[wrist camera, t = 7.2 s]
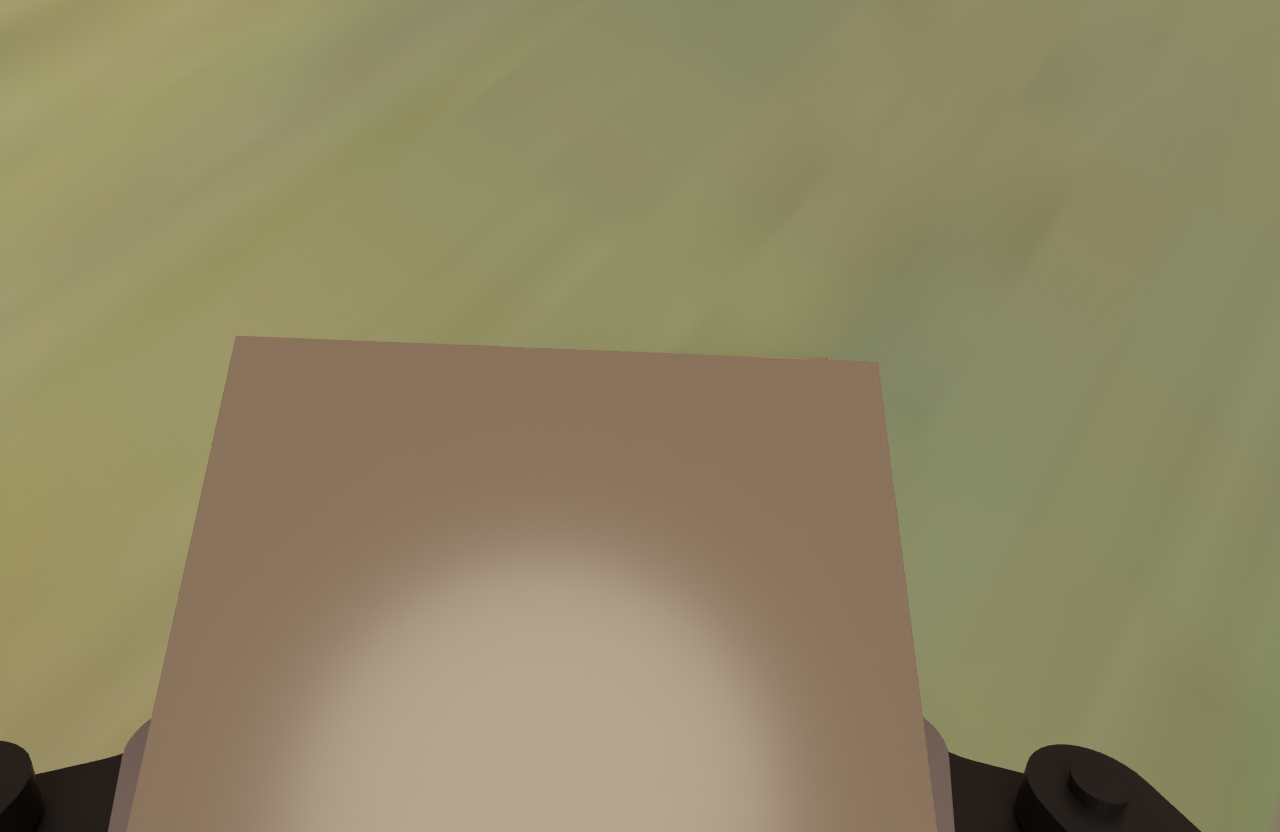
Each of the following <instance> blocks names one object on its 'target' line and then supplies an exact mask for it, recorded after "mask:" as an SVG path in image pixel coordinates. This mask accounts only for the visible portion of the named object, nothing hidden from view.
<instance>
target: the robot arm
mask: <svg viewBox="0 0 1280 832" xmlns="http://www.w3.org/2000/svg"><path fill="white" fill-rule="evenodd" d="M150 723H151V719H150V720H149V721H147V722H146V723H145V724H144V725H143V726H141V727H140V728H139V729H138V730H137V731H136V733H135V734H134V735H133V736H132V737H131V739H130V740H129V742H128V744H127V745H126V747H125V750H124V753H123V754H120V755H117V756H113V757H110V758H106V759H102V760H98V761H94V762H89V763H85V764H80V765H76V766H71V767H67V768H63V769H58V770H54V771H49V772H45V773H40V774H36V775H35V772H34V769H33V766H32V762H31V759H30V757H29V754H28V753H27V752H26V751H25V750H24V749H23V748H21V747H20V746H18V745H16V744H13V743H10V742H5V741H0V832H126V831H127V827H128V822H129V818H130V813H131V809H132V804H133V800H134V795H135V791H136V786H137V782H138V777H139V773H140V768H141V764H142V759H143V755H144V750H145V745H146V741H147V736H148V732H149V727H150ZM923 723H924V731H925V739H926V747H927V755H928V762H929V770H930V778H931V786H932V794H933V802H934V810H935V818H936V826H937V832H1201V831H1200V830H1199V829H1198V828H1197V827H1196V826H1194V825H1193V824H1192V823H1191V822H1190V821H1189V820H1188V819H1187V818H1186V817H1185V816H1184V815H1182V814H1181V813H1180V812H1179V811H1178V810H1177V809H1176V808H1175V807H1174V806H1173V805H1172V804H1170V803H1169V802H1168V801H1167V800H1166V799H1165V798H1164V797H1163V796H1162V795H1161V794H1160V793H1159V792H1157V791H1156V790H1155V789H1154V788H1153V787H1152V786H1151V785H1150V784H1149V783H1148V782H1147V781H1145V780H1144V779H1143V778H1142V777H1141V776H1139V775H1138V774H1137V773H1136V772H1134V771H1133V770H1131V769H1130V768H1128V767H1127V766H1126V765H1124V764H1122V763H1120V762H1119V761H1117V760H1115V759H1113V758H1111V757H1109V756H1107V755H1104V754H1102V753H1100V752H1097V751H1094V750H1091V749H1088V748H1084V747H1080V746H1074V745H1061V744H1057V745H1049V746H1046V747H1043V748H1040V749H1039V750H1037V751H1035V752H1034V753H1033V754H1032V755H1031V756H1030V758H1029V760H1028V762H1027V765H1026V768H1025V771H1024V773H1020V772H1016V771H1012V770H1008V769H1004V768H1000V767H996V766H992V765H988V764H984V763H980V762H976V761H973V760H969V759H966V758H963V757H960V756H957V755H955V754H952V753H950V752H948V749H947V747H946V744H945V742H944V740H943V738H942V737H941V735H940V734H939V732H938V731H937V730H936V729H935V728H934V727H933V726H932V725H931V724H930V723H929V722H928V721H927V720H926V719H925V718H923Z"/></svg>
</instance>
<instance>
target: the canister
mask: <svg viewBox="0 0 1280 832" xmlns="http://www.w3.org/2000/svg"><path fill="white" fill-rule="evenodd" d="M126 832H937V826H936V818H935V810H934V802H933V794H932V786H931V778H930V770H929V762H928V755H927V747H926V739H925V731H924V723H923V715H922V707H921V699H920V691H919V683H918V675H917V667H916V659H915V652H914V644H913V636H912V628H911V620H910V612H909V604H908V596H907V588H906V580H905V572H904V564H903V556H902V549H901V541H900V533H899V525H898V517H897V509H896V501H895V493H894V485H893V477H892V469H891V461H890V453H889V446H888V438H887V430H886V422H885V414H884V406H883V398H882V390H881V382H880V374H879V366H878V362H867V361H842V360H818V359H793V358H769V357H744V356H719V355H695V354H670V353H646V352H621V351H597V350H572V349H548V348H523V347H499V346H474V345H449V344H425V343H400V342H376V341H351V340H327V339H302V338H278V337H253V336H236V338H235V343H234V347H233V352H232V356H231V361H230V365H229V370H228V374H227V379H226V383H225V388H224V393H223V397H222V402H221V406H220V411H219V415H218V420H217V424H216V429H215V433H214V438H213V442H212V447H211V451H210V456H209V460H208V465H207V469H206V474H205V478H204V483H203V488H202V492H201V497H200V501H199V506H198V510H197V515H196V519H195V524H194V528H193V533H192V537H191V542H190V546H189V551H188V555H187V560H186V564H185V569H184V574H183V578H182V583H181V587H180V592H179V596H178V601H177V605H176V610H175V614H174V619H173V623H172V628H171V632H170V637H169V641H168V646H167V650H166V655H165V660H164V664H163V669H162V673H161V678H160V682H159V687H158V691H157V696H156V700H155V705H154V709H153V714H152V718H151V723H150V727H149V732H148V736H147V741H146V745H145V750H144V755H143V759H142V764H141V768H140V773H139V777H138V782H137V786H136V791H135V795H134V800H133V804H132V809H131V813H130V818H129V822H128V827H127V831H126Z"/></svg>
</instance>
